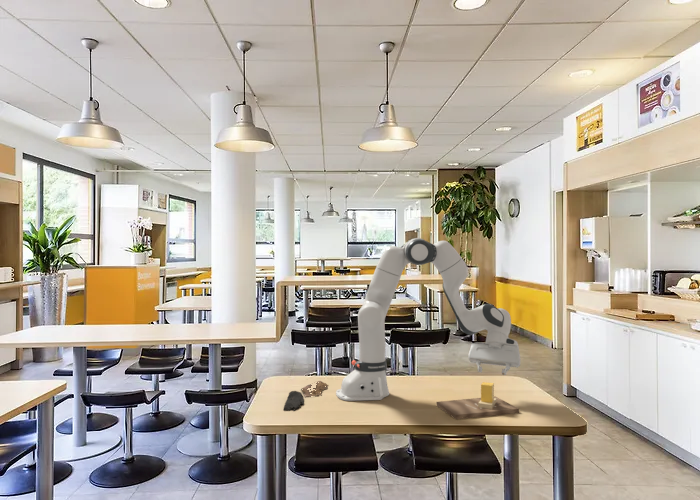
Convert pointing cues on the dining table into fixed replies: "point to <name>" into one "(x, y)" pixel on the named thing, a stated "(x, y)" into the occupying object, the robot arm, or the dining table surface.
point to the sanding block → (487, 396)
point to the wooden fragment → (319, 388)
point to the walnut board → (475, 408)
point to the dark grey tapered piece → (294, 401)
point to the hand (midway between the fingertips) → (491, 372)
